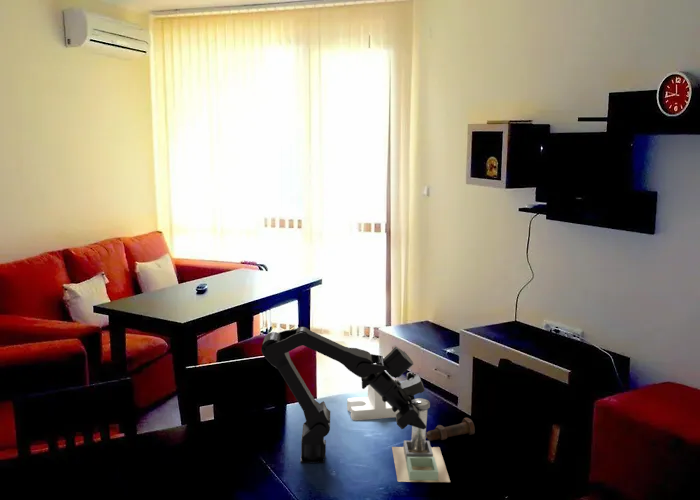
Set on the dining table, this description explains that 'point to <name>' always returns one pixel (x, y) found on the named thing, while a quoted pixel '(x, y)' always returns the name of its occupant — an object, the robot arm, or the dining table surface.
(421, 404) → the silver tall tapered cylinder
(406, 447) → the holder
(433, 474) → the socket
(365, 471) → the dining table surface
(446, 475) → the dock board
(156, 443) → the dining table surface
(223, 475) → the dining table surface
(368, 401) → the u-slot stand
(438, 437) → the bolt
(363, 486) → the dining table surface
